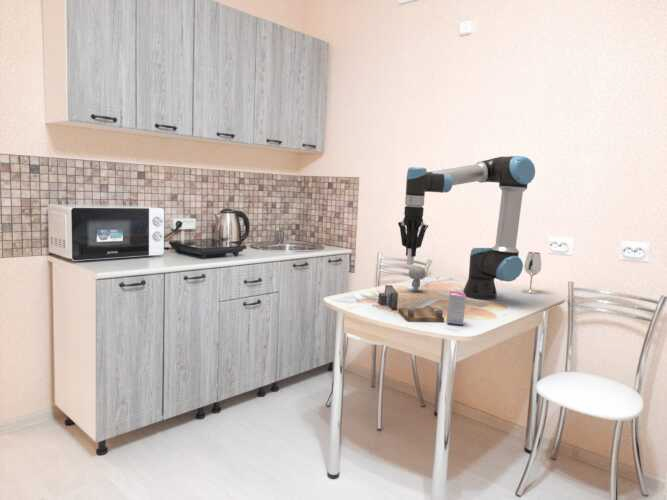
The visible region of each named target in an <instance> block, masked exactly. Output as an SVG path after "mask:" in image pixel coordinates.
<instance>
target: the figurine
mask: <svg viewBox="0 0 667 500" xmlns="http://www.w3.org/2000/svg"><path fill="white" fill-rule="evenodd" d="M408 276H409V278H410V279H412V282H411V287H412V288H413V291H414V293H415V292H418V290H419V288H420V286H421V280H423V279H424V278H425V276H426V269H425V267H422V266H418V265H415V266H414V265H413V266H411V267H410V268H409V270H408Z"/></svg>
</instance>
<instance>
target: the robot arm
mask: <svg viewBox="0 0 667 500" xmlns="http://www.w3.org/2000/svg"><path fill="white" fill-rule="evenodd" d="M406 172H407V174H406V183H405V184H406V186H405V198H404V204H405V205H404V206H405V207H404V212H403V214H404V217H403V220H402V221H398V222H397V225H398V227H399V231H400V237H401V238H400V240H401V245H402V246H403V247H405V256H406V265H409V266H411V265H414V264H415V263H414V259H415V257H416V256H417V249H418V248H421V247H422V245H423V241H424V237H425V234H426V231H427V229H428V228H429V225H428V224H426V223H425V222H424V219H423V217H424V206H425V195H426V193H441V194H443V193H449V192H451V190H452V188H453V186H457V185H458V186H459V185H463V184H469V183H475V182H478V183H481V184H482V183H483V184H484V183H497V184H498V188H499V189H500V190H501V196H500V204H499V205H500V206H499V213H498V221H497V230H496V236H495V245H494V246H492V247H472V248H471V250H470V255H469V267H468V268H469V269H468V278H467V281H466V283H465V285H464V288H463V292H462V293H465V294H466V298H467V297H468V298H472V299H478V300H495V299H497V298H498V297H497V296H498V292H497V289H496V287H497V286H496V284H495V283H496V282H495V279H496V280H498V281H501V282H513V281H515V280H516V279H518V278H519V277H520V276H521V274H522V272H523V268H524V264H523V263H524V262H523V260H522V259H521V258H520V256H519V253H520V251H519V249H517V240H518V233H519V225H520V217H521V208H522V202H523V195H524V192H525V191H526V190H528V184H530V183H531V182H533V181H532V180H534V178H535V176H536V167H535V164H534V162H532V159H531V158H529V157H528V156H527V157H526V156H521V155H510V156H499V157H498V156H497V157H493V158H489V159H485V160H480V161H478V162H476V163H475V164H469V165H464V166H458V167H452V168H444V169H439V170H433V171H427V168H426V167H420V166H419V167H417V166H410V167H408V169H407V171H406Z"/></svg>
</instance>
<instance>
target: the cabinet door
mask: <svg viewBox="0 0 667 500" xmlns="http://www.w3.org/2000/svg"><path fill="white" fill-rule="evenodd" d="M398 298H399V293H398V292H397V291H396V292H393V294H392V307H390V308H391V309H392V311H397V310H398V311H399V312H400V313H401V314H400V313H399V312H398V313H399V314H400V315H401V316H402V317H403V318H404V319H405V320H406V322H410V323H411V322H412V323H413V322H414V323H415V322H416V323H417V322H418V323H444V322H445V317H443V313H444V310H442V309H436V310H435V309H434V308H432V307H431V308H430V307H429V308H428V307H425V308H423V307H398ZM391 309H390V310H391Z"/></svg>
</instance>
